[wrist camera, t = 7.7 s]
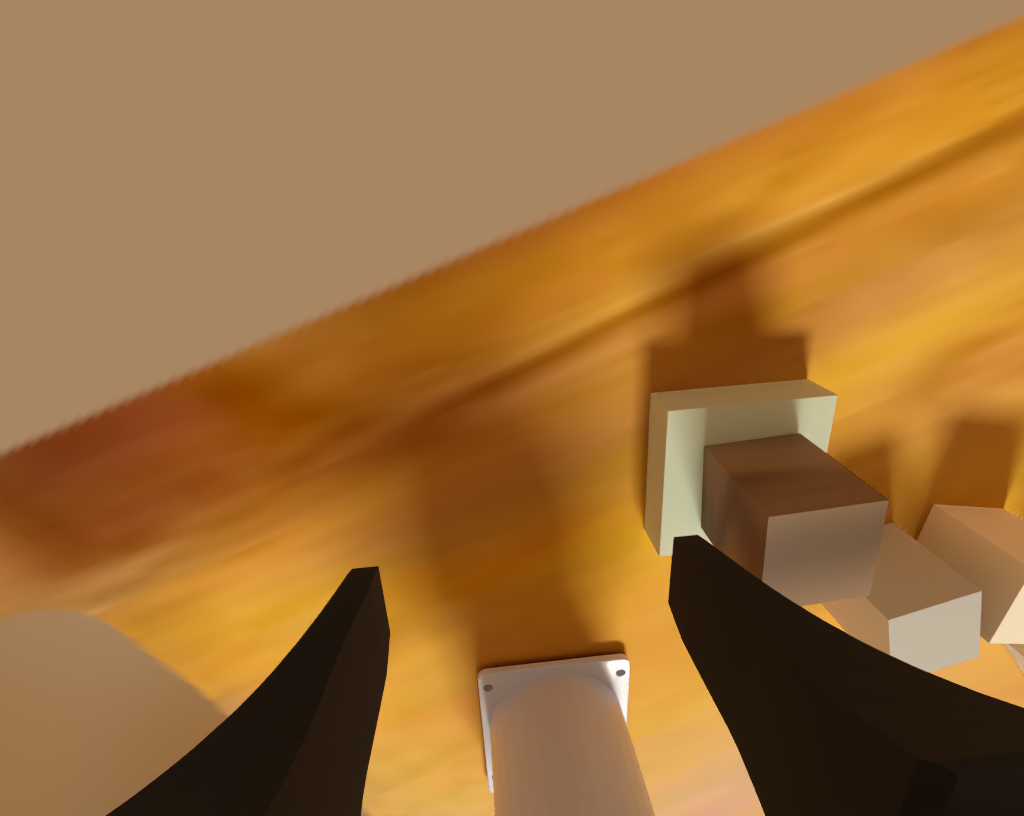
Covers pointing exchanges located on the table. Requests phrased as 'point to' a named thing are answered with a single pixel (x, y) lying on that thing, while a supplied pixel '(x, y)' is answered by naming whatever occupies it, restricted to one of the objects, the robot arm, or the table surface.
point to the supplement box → (1017, 653)
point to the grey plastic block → (914, 607)
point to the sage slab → (718, 442)
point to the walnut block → (793, 517)
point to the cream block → (984, 562)
